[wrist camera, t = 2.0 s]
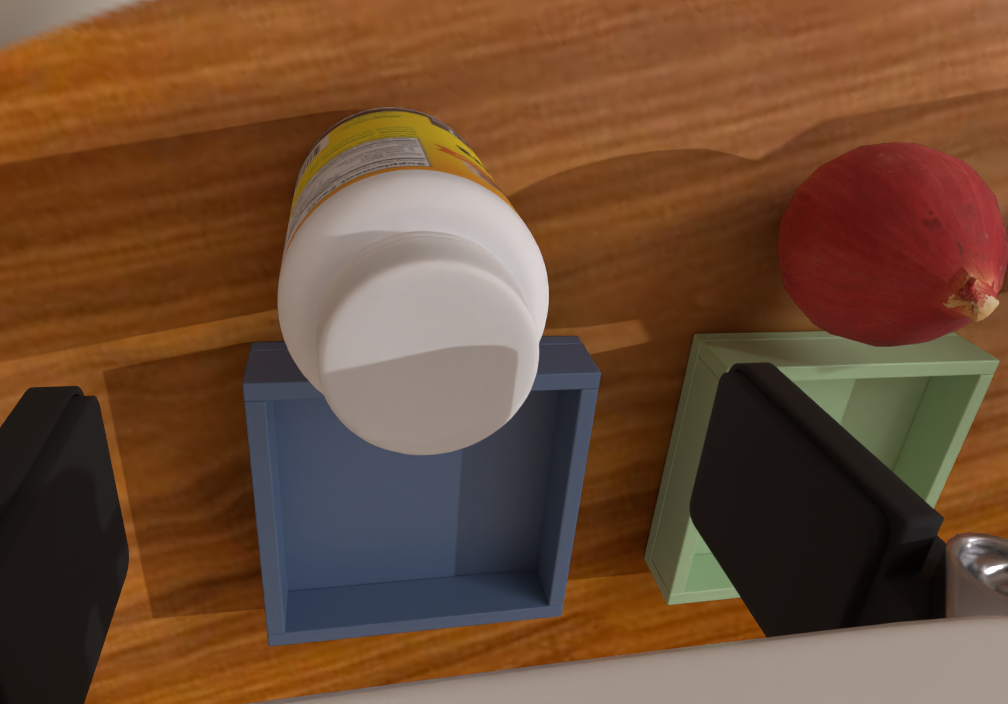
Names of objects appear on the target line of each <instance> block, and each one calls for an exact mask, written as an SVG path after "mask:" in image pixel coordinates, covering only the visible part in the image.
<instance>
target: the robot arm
mask: <svg viewBox="0 0 1008 704" xmlns="http://www.w3.org/2000/svg"><path fill="white" fill-rule="evenodd" d="M689 507H690V517H691V520H692V523H693V525H694V526H695V528H696V529H697V531H698V533H699V534H700V536H701V537H702V539H703V540H704V542H705V543H706V545H707V546H708V548H709V549H710V551H711V552H712V554H713V556H714V557H715V559H716V560H717V562H718V563H719V565H720V566H721V568H722V569H723V571H724V572H725V574H726V576H727V577H728V579H729V580H730V582H731V583H732V585H733V586H734V588H735V589H736V591H737V592H738V594H739V595H740V597H741V599H742V600H743V602H744V603H745V605H746V606H747V608H748V609H749V611H750V612H751V614H752V615H753V617H754V619H755V620H756V622H757V623H758V625H759V626H760V628H761V629H762V631H763V632H764V634H765V635H766V637H767V638H759V639H750V640H742V641H734V642H725V643H717V644H709V645H700V646H692V647H684V648H675V649H667V650H659V651H651V652H643V653H635V654H627V655H619V656H611V657H603V658H595V659H587V660H579V661H571V662H563V663H555V664H547V665H539V666H531V667H523V668H515V669H507V670H500V671H492V672H484V673H476V674H468V675H460V676H452V677H444V678H437V679H429V680H421V681H414V682H406V683H399V684H391V685H384V686H376V687H368V688H361V689H353V690H346V691H338V692H330V693H323V694H315V695H308V696H300V697H292V698H285V699H277V700H270V701H262V702H255V703H247V704H1008V540H1007V539H1005V538H1001V537H997V536H993V535H989V534H984V533H970V532H969V533H963V534H958V535H955V536H954V537H953V538H951V539H950V540H948V542H947V544H946V543H945V542H944V541H943V540H941V539H940V538H939V537H938V536H937V533H938V531H939V528H940V526H941V524H942V522H943V519H944V518H943V517H942V516H941V515H940V514H939V513H938V512H937V511H936V510H934V509H933V508H932V507H931V506H930V505H929V504H928V503H927V502H926V501H924V500H923V499H922V498H921V497H920V496H919V495H918V494H917V493H916V492H914V491H913V490H912V489H911V488H910V487H909V486H908V485H907V484H906V483H904V482H903V481H902V480H901V479H900V478H899V477H898V476H897V475H896V474H894V473H893V472H892V471H891V470H890V469H889V468H888V467H887V466H886V465H884V464H883V463H882V462H881V461H880V460H879V459H878V458H877V457H876V456H874V455H873V454H872V453H871V452H870V451H869V450H868V449H867V448H866V447H864V446H863V445H862V444H861V443H860V442H859V441H858V440H857V439H856V438H855V437H853V436H852V435H851V434H850V433H849V432H848V431H847V430H846V429H845V428H843V427H842V426H841V425H840V424H839V423H838V422H837V421H836V420H835V419H833V418H832V417H831V416H830V415H829V414H828V413H827V412H826V411H825V410H823V409H822V408H821V407H820V406H819V405H818V404H817V403H816V402H815V401H813V400H812V399H811V398H810V397H809V396H808V395H807V394H806V393H805V392H803V391H802V390H801V389H800V388H799V387H798V386H797V385H796V384H795V383H793V382H792V381H791V380H790V379H789V378H788V377H787V376H786V375H785V374H783V373H782V372H781V371H780V370H779V369H778V368H777V367H776V366H775V365H773V364H771V363H770V362H760V363H736V364H734V365H732V367H731V368H730V369H729V372H725V373H724V374H722V376H721V377H720V380H719V383H718V387H717V391H716V395H715V399H714V404H713V408H712V412H711V416H710V420H709V424H708V429H707V433H706V437H705V441H704V445H703V449H702V453H701V458H700V462H699V466H698V470H697V474H696V478H695V483H694V487H693V491H692V495H691V499H690V505H689ZM128 563H129V550H128V543H127V538H126V533H125V528H124V523H123V519H122V514H121V509H120V504H119V499H118V494H117V489H116V484H115V479H114V474H113V469H112V464H111V459H110V454H109V449H108V444H107V439H106V434H105V429H104V424H103V419H102V414H101V409H100V405H99V402H98V400H97V398H96V397H95V396H84V394H83V392H82V390H81V388H79V387H78V386H62V387H33V388H29V389H28V390H27V391H26V392H25V393H24V395H23V396H22V398H21V399H20V400H19V402H18V403H17V405H16V406H15V408H14V409H13V410H12V412H11V413H10V415H9V416H8V417H7V419H6V420H5V422H4V423H3V425H2V426H1V427H0V704H84V702H85V699H86V696H87V693H88V690H89V687H90V684H91V681H92V678H93V675H94V672H95V669H96V666H97V663H98V660H99V657H100V654H101V651H102V648H103V644H104V641H105V638H106V635H107V632H108V629H109V626H110V623H111V620H112V617H113V614H114V611H115V608H116V605H117V602H118V599H119V596H120V593H121V590H122V587H123V584H124V581H125V578H126V574H127V570H128Z"/></svg>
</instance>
